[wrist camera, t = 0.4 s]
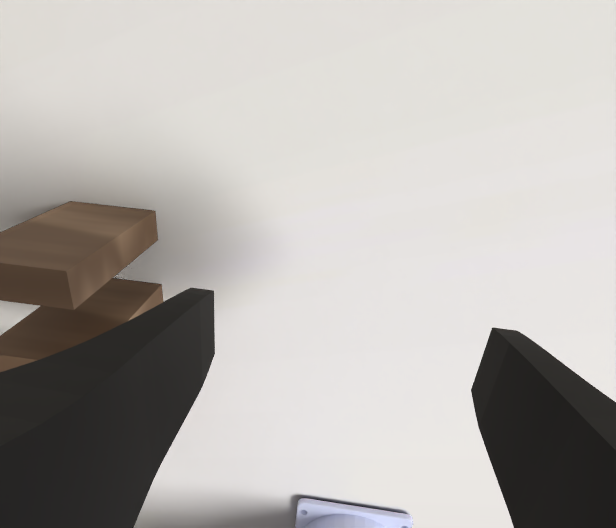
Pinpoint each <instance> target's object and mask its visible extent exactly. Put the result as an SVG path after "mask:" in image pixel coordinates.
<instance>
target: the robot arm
mask: <svg viewBox="0 0 616 528" xmlns="http://www.w3.org/2000/svg"><path fill="white" fill-rule="evenodd" d="M214 354H215V343H214V291H212V290H204V289H197V288H190V289H188V290H185V291H183V292H181V293H179V294H177V295H176V296H174V297H172V298H170V299H168V300H166V301H165V302H163V303H161V304H159V305H157V306H155V307H154V308H152V309H150V310H148V311H146V312H144V313H142V314H141V315H139V316H137V317H135V318H133V319H131V320H129V321H127V322H125V323H123V324H121V325H119V326H117V327H115V328H113V329H111V330H109V331H106V332H104V333H102V334H100V335H98V336H96V337H94V338H92V339H90V340H87V341H85V342H83V343H80V344H78V345H76V346H73V347H71V348H68V349H66V350H63V351H61V352H58V353H55V354H53V355H50V356H48V357H45V358H42V359H40V360H37V361H34V362H31V363H28V364H24V365H21V366H18V367H15V368H12V369H9V370H6V371H3V372H0V528H133V527H134V525H135V522H136V520H137V517H138V515H139V513H140V510H141V508H142V505H143V503H144V501H145V498H146V496H147V493H148V491H149V489H150V486H151V484H152V482H153V479H154V477H155V475H156V473H157V471H158V469H159V467H160V465H161V463H162V461H163V459H164V457H165V455H166V453H167V452H168V450H169V448H170V446H171V444H172V442H173V440H174V439H175V437H176V435H177V433H178V431H179V429H180V428H181V426H182V424H183V422H184V420H185V418H186V416H187V415H188V413H189V411H190V409H191V407H192V405H193V403H194V401H195V400H196V398H197V396H198V394H199V392H200V390H201V388H202V386H203V384H204V381H205V378H206V376H207V373H208V371H209V368H210V365H211V362H212V360H213V357H214ZM471 392H472V397H473V402H474V408H475V412H476V417H477V421H478V426H479V429H480V432H481V435H482V438H483V441H484V444H485V447H486V450H487V452H488V455H489V458H490V461H491V464H492V466H493V469H494V472H495V475H496V477H497V480H498V483H499V486H500V489H501V491H502V494H503V497H504V500H505V502H506V505H507V508H508V511H509V514H510V516H511V519H512V523H513V526H514V528H616V402H614V401H613V400H611V399H610V398H609V397H607V396H606V395H605V394H603V393H602V392H600V391H599V390H598V389H596V388H595V387H593V386H592V385H591V384H589V383H588V382H587V381H585V380H584V379H583V378H581V377H580V376H579V375H577V374H576V373H575V372H573V371H572V370H571V369H569V368H568V367H567V366H565V365H564V364H563V363H561V362H560V361H559V360H557V359H556V358H555V357H554V356H552V355H551V354H550V353H548V352H547V351H546V350H544V349H543V348H542V347H540V346H539V345H537V344H536V343H535V342H533V341H532V340H531V339H529V338H528V337H526V336H525V335H523V334H521V333H520V332H518V331H515V330H507V329H499V328H492V330H491V333H490V336H489V339H488V342H487V345H486V348H485V351H484V354H483V357H482V360H481V363H480V366H479V369H478V372H477V374H476V377H475V380H474V383H473V386H472V389H471ZM412 527H413V518H412V516H410V515H408V514H403V513H397V512H391V511H384V510H378V509H371V508H365V507H358V506H352V505H346V504H339V503H333V502H326V501H320V500H314V499H307V498H302V499H300V500H299V501H298V505H297V514H296V523H295V528H412Z"/></svg>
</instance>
